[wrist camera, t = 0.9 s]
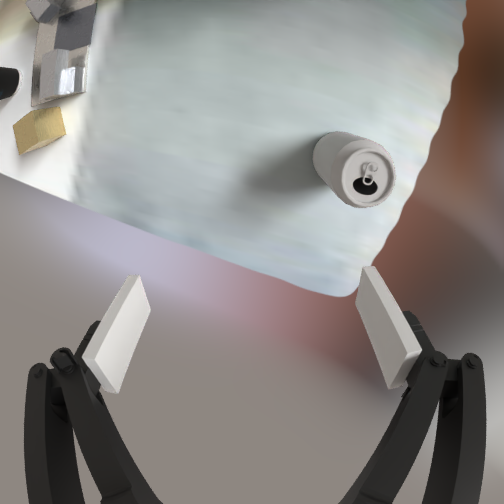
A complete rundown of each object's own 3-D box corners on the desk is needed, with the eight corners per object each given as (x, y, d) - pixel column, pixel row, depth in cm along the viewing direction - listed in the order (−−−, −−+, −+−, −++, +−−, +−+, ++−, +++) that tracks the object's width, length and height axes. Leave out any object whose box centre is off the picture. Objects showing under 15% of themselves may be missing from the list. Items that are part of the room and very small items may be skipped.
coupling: (40, 119, 31) (12, 125, 25) (60, 106, 30) (31, 110, 24) (46, 145, 33) (19, 155, 27) (66, 134, 33) (38, 142, 27)
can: (306, 177, 37) (326, 206, 26) (317, 124, 33) (344, 132, 23) (355, 187, 37) (390, 220, 27) (367, 138, 34) (410, 153, 23)
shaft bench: (45, -5, 18) (25, -11, 13) (107, -31, 19) (89, -43, 13) (30, 107, 29) (7, 111, 24) (89, 91, 30) (66, 91, 24)
